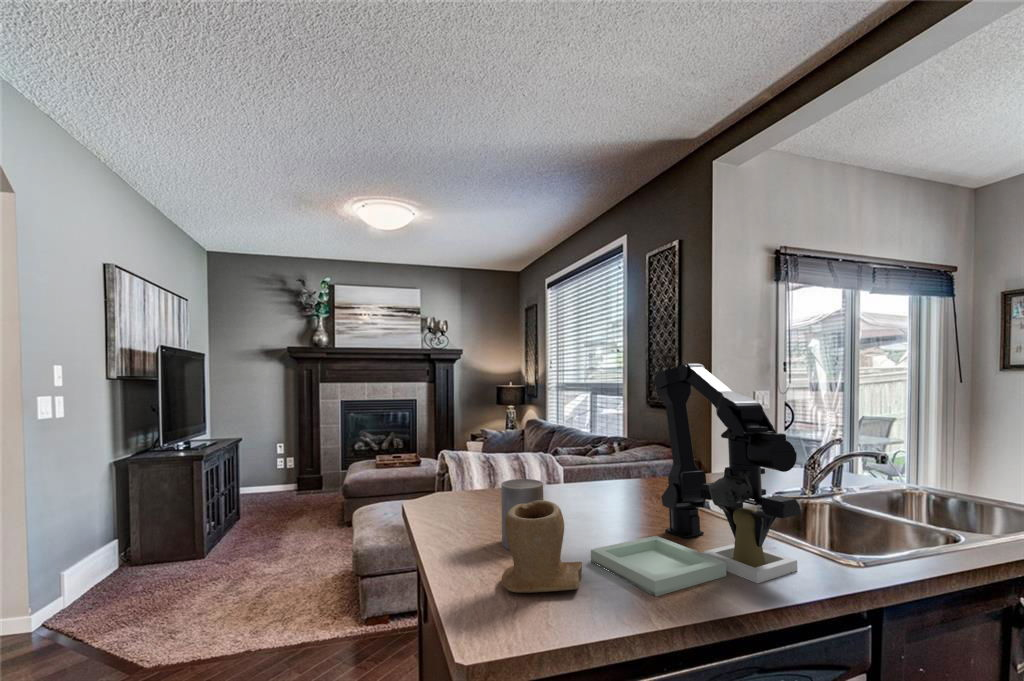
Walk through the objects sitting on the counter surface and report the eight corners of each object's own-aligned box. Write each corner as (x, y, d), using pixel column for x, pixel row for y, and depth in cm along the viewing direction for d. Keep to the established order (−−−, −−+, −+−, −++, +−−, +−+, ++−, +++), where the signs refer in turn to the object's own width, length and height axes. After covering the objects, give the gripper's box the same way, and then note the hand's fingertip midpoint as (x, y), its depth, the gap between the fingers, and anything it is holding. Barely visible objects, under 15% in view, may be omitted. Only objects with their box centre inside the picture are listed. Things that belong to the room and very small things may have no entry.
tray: (591, 562, 98) (590, 549, 98) (656, 547, 107) (656, 535, 107) (655, 596, 82) (655, 581, 83) (726, 575, 91) (725, 562, 91)
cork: (725, 563, 97) (723, 507, 98) (748, 558, 99) (746, 504, 100) (750, 574, 92) (747, 514, 93) (773, 569, 94) (770, 511, 95)
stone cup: (500, 604, 80) (500, 512, 81) (502, 575, 92) (501, 495, 93) (592, 603, 80) (590, 511, 81) (581, 575, 92) (579, 494, 93)
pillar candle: (534, 535, 115) (532, 471, 117) (552, 548, 106) (550, 479, 108) (495, 541, 112) (494, 475, 113) (511, 555, 103) (509, 483, 104)
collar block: (703, 561, 98) (703, 551, 98) (742, 551, 104) (741, 542, 104) (757, 583, 87) (757, 572, 88) (797, 570, 93) (796, 560, 93)
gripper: (679, 459, 102) (682, 536, 100) (761, 474, 85) (766, 566, 84) (716, 455, 107) (719, 527, 106) (799, 468, 90) (804, 554, 89)
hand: (748, 542), depth 96 cm, fingers closed on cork, 4 cm apart
